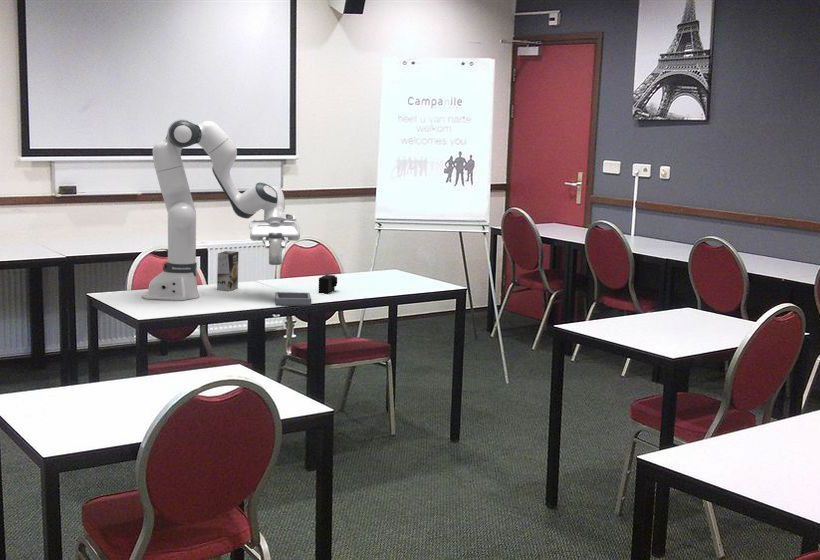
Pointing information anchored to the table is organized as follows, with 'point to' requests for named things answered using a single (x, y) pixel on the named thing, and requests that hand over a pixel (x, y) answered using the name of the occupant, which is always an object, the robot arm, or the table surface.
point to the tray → (292, 299)
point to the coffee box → (227, 270)
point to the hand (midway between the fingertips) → (275, 247)
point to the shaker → (275, 248)
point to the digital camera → (327, 284)
